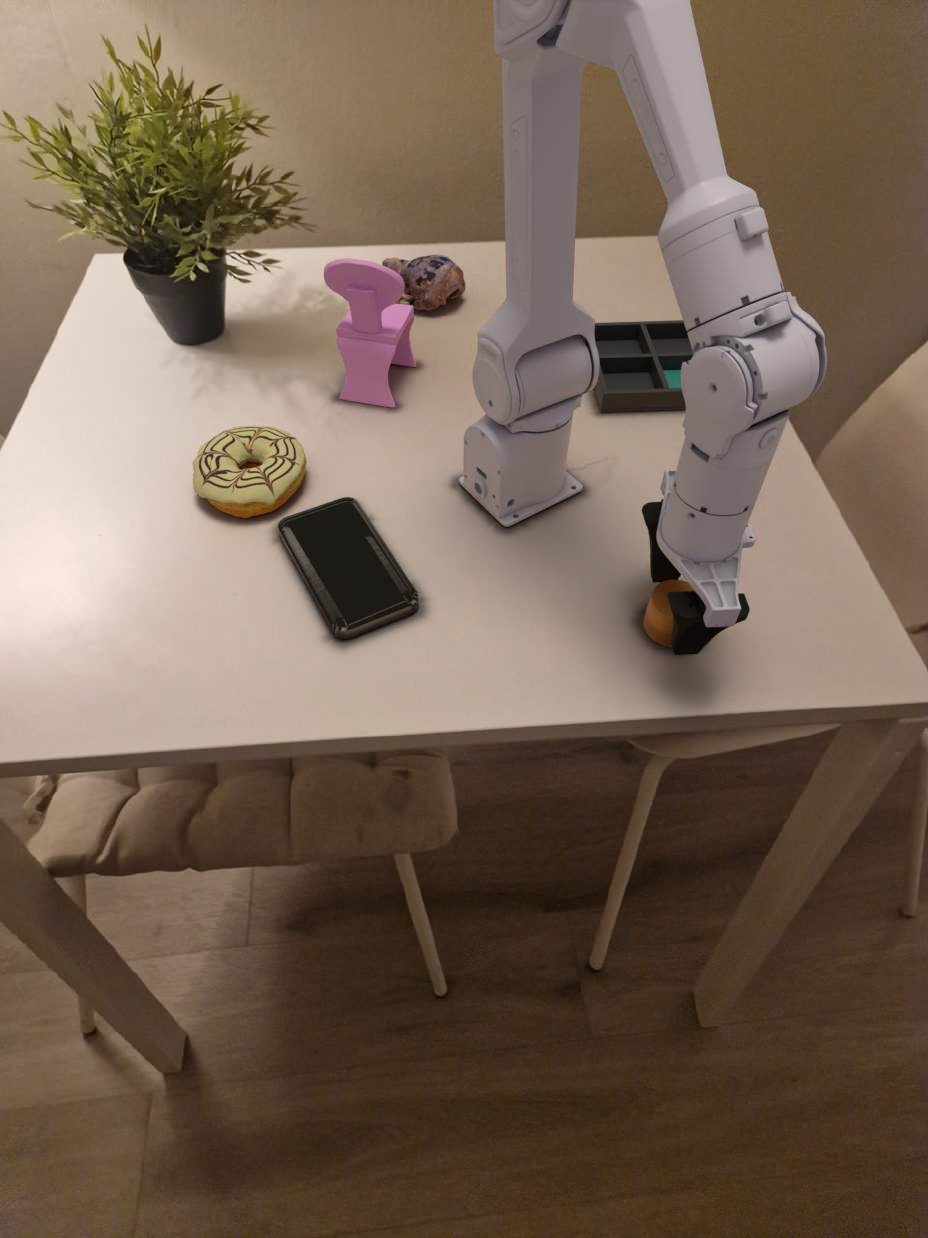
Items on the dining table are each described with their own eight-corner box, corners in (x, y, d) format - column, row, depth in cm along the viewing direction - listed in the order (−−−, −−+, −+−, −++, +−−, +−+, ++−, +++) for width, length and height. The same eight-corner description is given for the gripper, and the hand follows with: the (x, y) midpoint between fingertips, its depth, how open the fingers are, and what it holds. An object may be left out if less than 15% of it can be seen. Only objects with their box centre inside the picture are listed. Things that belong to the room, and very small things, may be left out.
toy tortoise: (367, 281, 101) (370, 232, 97) (415, 270, 105) (419, 223, 101) (425, 325, 96) (431, 275, 91) (473, 312, 100) (481, 263, 95)
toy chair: (426, 364, 91) (421, 231, 79) (403, 409, 85) (394, 273, 74) (357, 353, 92) (342, 221, 80) (330, 397, 86) (310, 262, 75)
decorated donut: (183, 517, 75) (171, 486, 72) (219, 445, 81) (210, 414, 78) (291, 526, 74) (284, 496, 71) (319, 453, 80) (313, 422, 77)
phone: (336, 635, 64) (274, 520, 72) (338, 643, 65) (276, 529, 73) (424, 600, 66) (354, 493, 75) (424, 609, 67) (355, 502, 76)
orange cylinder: (668, 655, 64) (678, 629, 62) (632, 621, 67) (639, 593, 64) (707, 631, 66) (718, 604, 63) (670, 598, 68) (679, 571, 66)
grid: (727, 408, 86) (732, 389, 84) (600, 412, 85) (603, 393, 83) (695, 337, 94) (700, 319, 92) (580, 341, 94) (582, 322, 92)
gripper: (807, 561, 50) (747, 684, 61) (742, 420, 59) (699, 548, 70) (697, 566, 50) (656, 689, 60) (649, 424, 59) (620, 552, 70)
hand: (674, 614), depth 65 cm, fingers open, 7 cm apart
